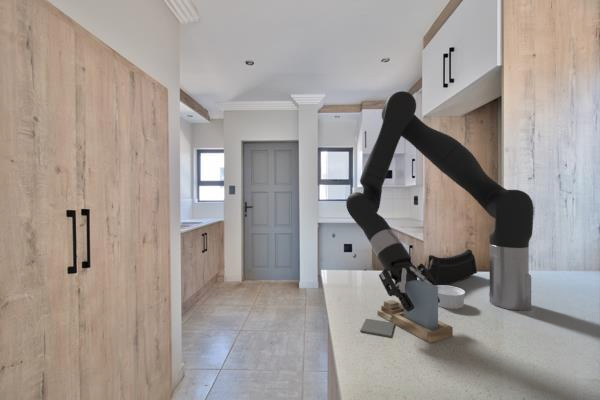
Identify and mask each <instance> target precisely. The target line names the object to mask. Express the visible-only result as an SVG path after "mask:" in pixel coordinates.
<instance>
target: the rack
mask: <svg viewBox="0 0 600 400" xmlns="http://www.w3.org/2000/svg"><path fill="white" fill-rule="evenodd" d="M377 315H378V316H379V317H381V318H383V319H384V320H387V322H391V323H394V326H397V327H399V328H401V329H403V330H405V331H406V332H409V333H410V334H412V335H414V336H416V337H418V338H419V339H422V340H423V341H425V342H426V343H428V344H432V343H436V342H438V341H441V340H444V339H448V338H450V337H452V336H454V335H453V334H454V333H453V332H454V330H453V329H454V327H453V326H451V325H449V324H447V323H444V322H442V321H439V320H438V329H437V330H434V331H431V330H429V329H427V328H424V327H422V326H420V325H418V324H416V323H414V322H412V321H410V320H408V319H406V318H404V307H403V305H402V304H401V302H400V301H397V300H394V299H389V300H384V301H383V305H381V307H380V309H378V310H377Z"/></svg>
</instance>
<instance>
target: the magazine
mask: <svg viewBox="0 0 600 400" xmlns="http://www.w3.org/2000/svg"><path fill="white" fill-rule="evenodd" d="M424 266H425V267H426V269H427V270H428V271H429V273H430V274H431V275H432V277H433V278H434V280H435V281H436V283H435V284H434V285H435V286H438V285H447V286H448V285H452V284H455V283H458V282H462V281H463V280H466V279H467V278H469V277H472V276H474V275H475V274H478V270H477V263H476V258H475V255H474V253H473V251H472V249H466V250H465V251H464V252H462V253H460V254H459V253H458V254H456V255H452V256H448V257H447V256H445V257H439V256H435V255H431V254H430V255H428V258H427V260H426V261H425V263H424ZM427 280H428V281H430V280H429V279H428V277H427Z"/></svg>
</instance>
